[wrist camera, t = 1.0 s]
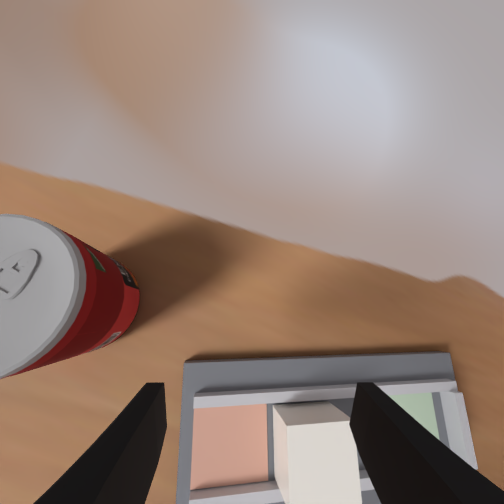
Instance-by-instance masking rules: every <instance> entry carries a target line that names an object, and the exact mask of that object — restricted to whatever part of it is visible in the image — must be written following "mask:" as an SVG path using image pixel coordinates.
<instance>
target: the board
mask: <svg viewBox="0 0 504 504" xmlns="http://www.w3.org/2000/svg"><path fill="white" fill-rule="evenodd" d="M357 382H373V383H374V384H375V385H377V386H378V387H379V388H380V389H381V390H382V391H384V392H385V393H386V394H387V395H388V396H389V397H390V398H392V399H393V400H394V401H395V402H396V403H397V404H398V405H399V406H401V407H402V408H403V409H404V410H405V411H406V412H407V413H408V414H410V415H411V416H412V417H413V418H414V419H415V420H416V421H418V422H419V423H420V424H421V425H422V426H423V427H424V428H426V429H427V430H428V431H429V432H430V433H431V434H433V435H434V436H435V437H436V438H437V439H439V440H440V441H441V442H442V443H443V444H445V445H446V446H447V447H448V448H449V449H451V450H452V451H453V452H454V453H455V454H457V455H458V456H459V457H460V458H462V459H463V460H464V461H465V462H467V463H468V464H469V465H470V466H472V467H473V468H474V469H475V470H477V469H478V466H477V461H476V456H475V452H474V447H473V442H472V437H471V432H470V427H469V422H468V417H467V412H466V408H465V403H464V398H463V393H462V392H458V389H457V384H456V381H455V376H454V371H453V366H452V361H451V356H450V353H447V352H441V351H430V352H404V353H377V354H350V355H324V356H297V357H270V358H244V359H217V360H191V361H185V362H184V371H183V388H182V405H181V423H180V440H179V458H178V475H177V492H176V504H285V502H284V499H283V497H282V494H281V492H280V489H279V486H278V484H277V481H276V479H275V474H274V437H273V405H281V404H296V403H310V402H324V401H329V402H330V403H331V404H333V405H334V406H335V407H337V408H338V409H339V410H341V411H342V412H343V413H345V414H346V415H347V416H349V417H351V412H352V407H353V402H354V396H355V391H356V386H357ZM356 447H357V446H356ZM357 457H358V467H359V477H360V487H361V497H362V504H381V502H380V500H379V498H378V496H377V493H376V491H375V489H374V487H373V485H372V482H371V480H370V478H369V476H368V474H367V471H366V469H365V467H364V465H363V462H362V460H361V458H360V455H359V452H358V449H357Z"/></svg>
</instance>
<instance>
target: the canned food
mask: <svg viewBox="0 0 504 504" xmlns="http://www.w3.org/2000/svg"><path fill="white" fill-rule="evenodd" d="M138 305H139V288H138V283H137V281H136V279H135V277H134V275H133V274H132V273H131V272H130V270H129V269H127V268H126V267H125V266H124V265H122V264H121V263H119V262H117V261H115V260H114V259H112V258H110V257H109V256H107V255H105V254H103V253H102V252H100V251H98V250H96V249H95V248H93V247H91V246H89V245H88V244H86V243H84V242H82V241H81V240H79V239H77V238H76V237H74V236H72V235H70V234H68V233H66V232H64V231H62V230H61V229H59V228H57V227H55V226H53V225H51V224H49V223H47V222H43V221H41V220H38V219H35V218H31V217H28V216H24V215H14V214H0V379H2V378H5V377H9V376H13V375H17V374H20V373H23V372H26V371H30V370H33V369H36V368H39V367H42V366H46V365H49V364H52V363H55V362H59V361H62V360H65V359H68V358H71V357H75V356H78V355H81V354H84V353H87V352H91V351H94V350H97V349H99V348H102V347H105V346H106V345H108V344H110V343H112V342H113V341H115V340H116V339H117V338H118V337H120V336H121V335H122V334H123V333H124V332H125V331H126V329H127V328H128V327H129V326H130V324H131V322H132V321H133V319H134V317H135V315H136V312H137V310H138Z"/></svg>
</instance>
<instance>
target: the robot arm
mask: <svg viewBox="0 0 504 504" xmlns="http://www.w3.org/2000/svg"><path fill="white" fill-rule="evenodd" d="M349 425H350V429H351V432H352V435H353V438H354V441H355V444H356V446H357V449H358V452H359V455H360V458H361V460H362V462H363V465H364V467H365V469H366V471H367V474H368V476H369V478H370V480H371V482H372V485H373V487H374V489H375V491H376V493H377V496H378V498H379V500H380V502H381V504H504V491H503V490H501V489H500V488H499V487H497V486H496V485H495V484H493V483H492V482H491V481H489V480H488V479H487V478H486V477H484V476H483V475H482V474H480V473H479V472H478V471H477V470H475V469H474V468H473V467H472V466H470V465H469V464H468V463H467V462H465V461H464V460H463V459H462V458H460V457H459V456H458V455H457V454H455V453H454V452H453V451H452V450H451V449H449V448H448V447H447V446H446V445H445V444H443V443H442V442H441V441H440V440H439V439H437V438H436V437H435V436H434V435H433V434H431V433H430V432H429V431H428V430H427V429H426V428H424V427H423V426H422V425H421V424H420V423H419V422H418V421H416V420H415V419H414V418H413V417H412V416H411V415H410V414H408V413H407V412H406V411H405V410H404V409H403V408H402V407H401V406H399V405H398V404H397V403H396V402H395V401H394V400H393V399H392V398H390V397H389V396H388V395H387V394H386V393H385V392H384V391H382V390H381V389H380V388H379V387H378V386H377V385H375V384H374V383H373V382H357V386H356V391H355V396H354V402H353V407H352V412H351V417H350V422H349ZM166 429H167V419H166V404H165V388H164V383H146V384H145V385H144V386H143V387H142V388H141V390H140V391H139V392H138V393H137V394H136V395H135V397H134V398H133V399H132V400H131V401H130V403H129V404H128V405H127V406H126V407H125V408H124V410H123V411H122V412H121V413H120V414H119V415H118V416H117V418H116V419H115V420H114V421H113V422H112V423H111V424H110V425H109V427H108V428H107V429H106V430H105V431H104V432H103V433H102V434H101V435H100V436H99V438H98V439H97V440H96V441H95V442H94V443H93V444H92V445H91V446H90V447H89V448H88V449H87V451H86V452H85V453H84V454H83V455H82V456H81V457H80V458H79V459H78V460H77V461H76V462H75V463H74V464H73V465H72V466H71V467H70V468H69V469H68V470H67V471H66V472H65V473H64V474H63V475H62V476H61V477H60V478H59V479H58V480H57V481H56V482H55V483H54V484H53V485H52V486H51V487H50V488H49V489H48V490H47V491H46V492H45V493H44V494H43V495H42V496H41V497H40V498H39V499H38V500H37V501H36V502H35V503H33V504H145V501H146V498H147V495H148V492H149V489H150V486H151V483H152V480H153V477H154V474H155V471H156V468H157V465H158V462H159V458H160V454H161V450H162V446H163V441H164V437H165V433H166Z"/></svg>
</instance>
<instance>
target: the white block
mask: <svg viewBox="0 0 504 504" xmlns="http://www.w3.org/2000/svg"><path fill="white" fill-rule="evenodd" d="M349 422H350V417H349V416H347V415H346V414H345V413H343V412H342V411H341V410H339V409H338V408H337V407H335V406H334V405H333V404H331V403H330V402H329V401H324V402H310V403H296V404H281V405H273V437H274V474H275V479H276V481H277V484H278V486H279V489H280V492H281V494H282V497H283V499H284V502H285V504H362V497H361V487H360V477H359V467H358V457H357V447H356V444H355V441H354V438H353V435H352V432H351V429H350V425H349Z"/></svg>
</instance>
